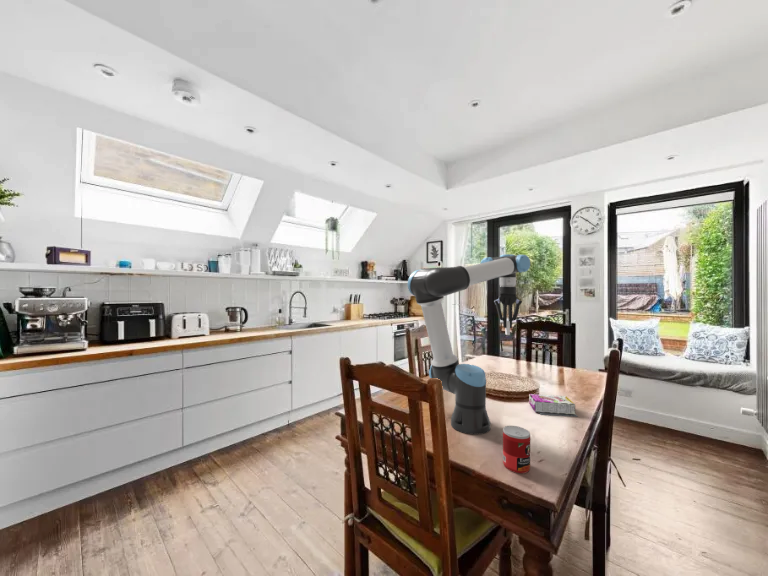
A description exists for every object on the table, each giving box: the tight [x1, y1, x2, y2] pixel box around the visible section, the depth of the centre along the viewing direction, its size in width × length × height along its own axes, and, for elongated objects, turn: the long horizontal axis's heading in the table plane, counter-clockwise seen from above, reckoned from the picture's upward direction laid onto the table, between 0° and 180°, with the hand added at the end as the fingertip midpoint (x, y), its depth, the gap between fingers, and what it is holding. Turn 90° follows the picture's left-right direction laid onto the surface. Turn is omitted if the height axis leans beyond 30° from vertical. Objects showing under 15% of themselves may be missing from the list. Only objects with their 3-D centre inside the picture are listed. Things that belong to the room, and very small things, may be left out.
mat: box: [538, 412, 579, 418], centre depth 146 cm, size 15×14×1 cm
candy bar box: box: [528, 393, 576, 415], centre depth 145 cm, size 11×5×16 cm
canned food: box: [502, 425, 531, 474], centre depth 99 cm, size 8×8×11 cm
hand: (507, 334), depth 157 cm, fingers closed
